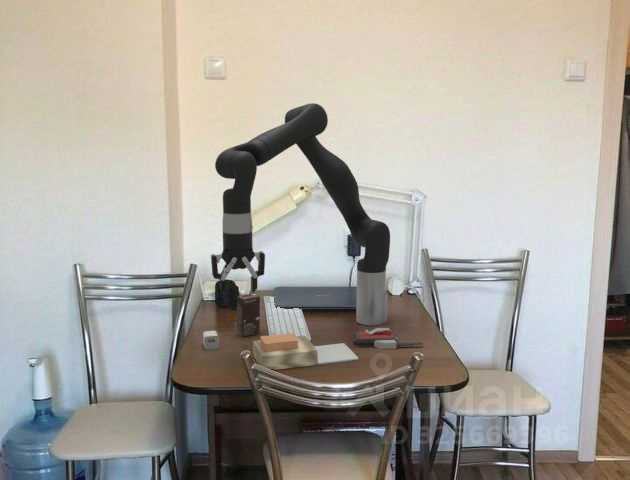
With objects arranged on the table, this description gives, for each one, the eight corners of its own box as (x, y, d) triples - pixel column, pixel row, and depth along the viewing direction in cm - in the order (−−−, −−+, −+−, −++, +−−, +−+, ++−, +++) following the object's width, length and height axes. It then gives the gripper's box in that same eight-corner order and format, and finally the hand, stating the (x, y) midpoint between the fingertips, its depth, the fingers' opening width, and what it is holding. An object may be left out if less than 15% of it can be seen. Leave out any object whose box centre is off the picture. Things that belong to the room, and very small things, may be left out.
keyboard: (311, 343, 178) (311, 335, 177) (269, 345, 176) (269, 337, 176) (297, 300, 221) (297, 294, 220) (263, 301, 219) (263, 295, 219)
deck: (305, 348, 172) (305, 335, 171) (317, 364, 160) (317, 350, 160) (253, 354, 167) (252, 340, 167) (262, 371, 156) (262, 356, 155)
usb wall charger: (204, 350, 171) (204, 336, 170) (202, 341, 178) (202, 328, 177) (218, 348, 172) (218, 335, 171) (216, 340, 179) (215, 327, 178)
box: (243, 337, 180) (242, 299, 178) (236, 333, 184) (235, 295, 182) (261, 334, 184) (260, 296, 181) (254, 329, 187) (253, 292, 185)
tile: (292, 340, 167) (292, 333, 166) (298, 348, 161) (298, 340, 161) (260, 344, 164) (260, 336, 164) (265, 351, 159) (265, 344, 158)
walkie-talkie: (354, 351, 171) (423, 349, 172) (354, 336, 170) (424, 334, 171) (350, 340, 180) (416, 338, 181) (350, 326, 179) (417, 324, 180)
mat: (344, 344, 175) (344, 343, 175) (358, 359, 164) (358, 358, 164) (305, 348, 172) (305, 347, 172) (318, 364, 160) (318, 363, 160)
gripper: (262, 226, 159) (262, 286, 162) (207, 228, 155) (209, 291, 158) (268, 230, 152) (269, 294, 155) (211, 233, 148) (213, 298, 151)
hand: (238, 292), depth 157 cm, fingers open, 7 cm apart
